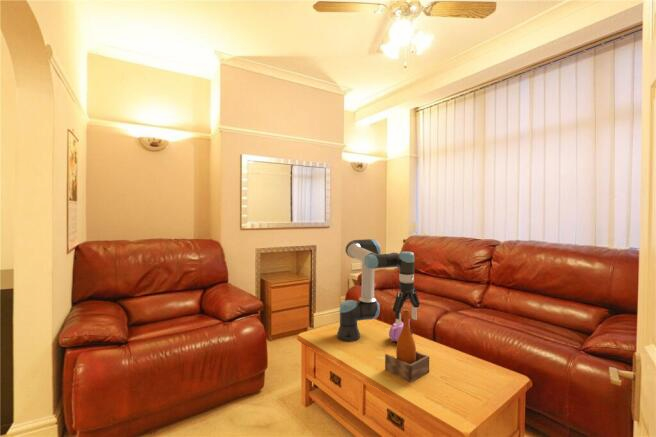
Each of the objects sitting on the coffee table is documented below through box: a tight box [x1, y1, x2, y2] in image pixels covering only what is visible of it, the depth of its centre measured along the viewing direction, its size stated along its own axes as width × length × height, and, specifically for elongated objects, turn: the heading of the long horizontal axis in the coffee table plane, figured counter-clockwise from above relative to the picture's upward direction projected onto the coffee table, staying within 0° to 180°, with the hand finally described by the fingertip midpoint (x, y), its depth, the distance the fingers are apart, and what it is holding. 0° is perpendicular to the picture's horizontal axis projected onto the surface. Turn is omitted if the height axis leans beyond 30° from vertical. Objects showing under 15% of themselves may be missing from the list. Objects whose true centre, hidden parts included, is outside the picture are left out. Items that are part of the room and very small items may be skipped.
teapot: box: [388, 317, 411, 343], centre depth 202 cm, size 20×14×12 cm
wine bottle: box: [395, 310, 417, 364], centre depth 164 cm, size 10×10×30 cm
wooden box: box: [384, 350, 430, 383], centre depth 163 cm, size 16×16×8 cm
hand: (406, 322), depth 163 cm, fingers open, 13 cm apart
